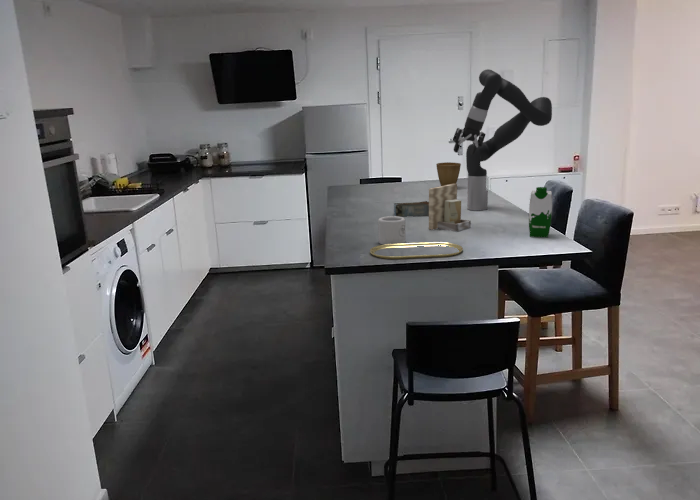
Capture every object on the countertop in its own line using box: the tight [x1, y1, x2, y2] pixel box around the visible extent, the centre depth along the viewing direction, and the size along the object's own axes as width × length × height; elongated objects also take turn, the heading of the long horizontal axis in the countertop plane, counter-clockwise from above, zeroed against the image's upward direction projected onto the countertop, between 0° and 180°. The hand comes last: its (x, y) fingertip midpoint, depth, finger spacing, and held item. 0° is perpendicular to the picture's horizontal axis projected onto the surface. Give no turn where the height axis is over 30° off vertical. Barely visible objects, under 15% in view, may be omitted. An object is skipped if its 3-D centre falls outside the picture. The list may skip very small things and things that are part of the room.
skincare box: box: [444, 199, 462, 224], centre depth 258 cm, size 6×4×12 cm
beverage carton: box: [393, 200, 429, 218], centre depth 289 cm, size 8×19×7 cm, turn 92°
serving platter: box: [369, 241, 464, 260], centre depth 221 cm, size 19×35×2 cm, turn 93°
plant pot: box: [436, 162, 462, 186], centre depth 363 cm, size 15×15×16 cm
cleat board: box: [428, 183, 472, 232], centre depth 257 cm, size 18×12×18 cm
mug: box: [377, 215, 406, 245], centre depth 236 cm, size 14×11×10 cm
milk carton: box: [528, 186, 553, 238], centre depth 238 cm, size 9×9×20 cm
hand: (463, 153), depth 257 cm, fingers open, 8 cm apart
